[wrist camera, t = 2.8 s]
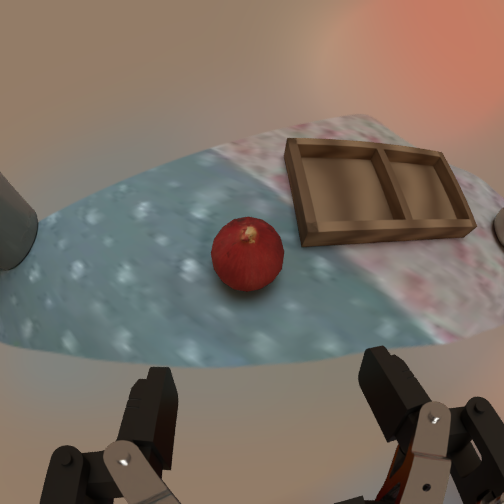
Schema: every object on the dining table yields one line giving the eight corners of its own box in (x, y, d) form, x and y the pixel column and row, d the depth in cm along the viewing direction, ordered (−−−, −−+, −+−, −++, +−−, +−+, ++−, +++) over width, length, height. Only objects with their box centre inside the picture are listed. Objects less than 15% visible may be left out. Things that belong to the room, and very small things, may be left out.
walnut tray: (301, 246, 27) (308, 232, 25) (283, 155, 32) (287, 138, 29) (464, 237, 29) (477, 226, 26) (432, 165, 34) (441, 152, 31)
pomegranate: (210, 247, 27) (200, 199, 20) (269, 237, 28) (279, 187, 20) (221, 306, 25) (212, 277, 17) (284, 293, 25) (302, 260, 18)
